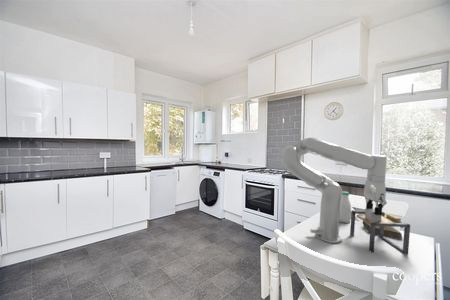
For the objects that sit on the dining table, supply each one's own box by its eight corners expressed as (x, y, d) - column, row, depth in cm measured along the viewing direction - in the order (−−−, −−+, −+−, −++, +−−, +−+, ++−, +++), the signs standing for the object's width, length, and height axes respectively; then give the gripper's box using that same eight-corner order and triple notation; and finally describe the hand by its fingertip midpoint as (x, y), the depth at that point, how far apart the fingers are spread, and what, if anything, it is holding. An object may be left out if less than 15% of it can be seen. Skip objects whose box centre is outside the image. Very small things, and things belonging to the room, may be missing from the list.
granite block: (371, 221, 101) (371, 211, 101) (364, 217, 106) (364, 208, 106) (381, 221, 101) (381, 211, 101) (374, 217, 106) (374, 208, 106)
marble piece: (402, 240, 110) (403, 233, 110) (372, 236, 113) (373, 229, 113) (385, 227, 126) (386, 221, 126) (359, 224, 129) (360, 218, 129)
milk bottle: (351, 224, 129) (353, 194, 128) (337, 222, 132) (339, 192, 131) (348, 219, 136) (350, 191, 135) (336, 218, 139) (337, 190, 138)
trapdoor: (373, 227, 98) (373, 221, 97) (356, 216, 110) (356, 212, 110) (406, 226, 97) (406, 221, 97) (386, 216, 110) (386, 211, 110)
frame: (370, 252, 96) (372, 223, 95) (350, 235, 113) (351, 210, 113) (408, 254, 95) (410, 224, 94) (381, 236, 112) (383, 211, 112)
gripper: (358, 175, 111) (356, 206, 112) (380, 181, 94) (378, 218, 95) (371, 175, 111) (369, 207, 112) (396, 182, 94) (394, 219, 95)
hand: (373, 212), depth 104 cm, fingers open, 5 cm apart
